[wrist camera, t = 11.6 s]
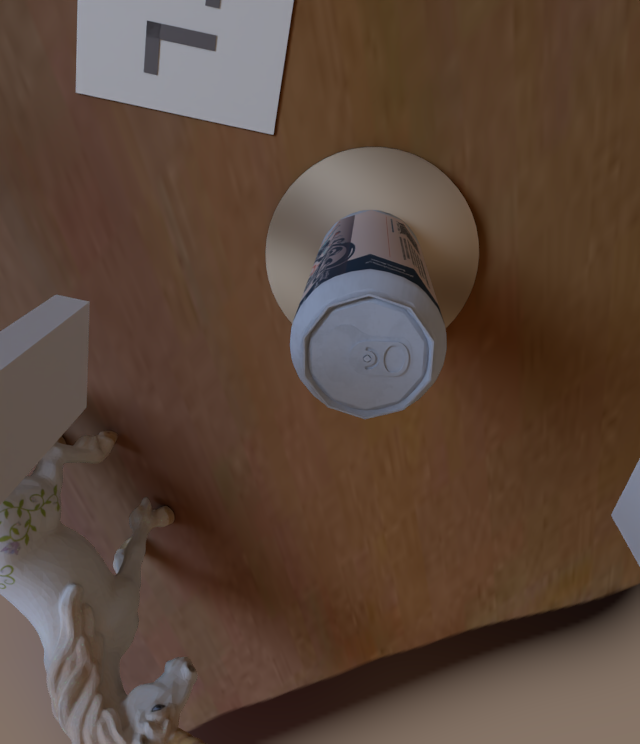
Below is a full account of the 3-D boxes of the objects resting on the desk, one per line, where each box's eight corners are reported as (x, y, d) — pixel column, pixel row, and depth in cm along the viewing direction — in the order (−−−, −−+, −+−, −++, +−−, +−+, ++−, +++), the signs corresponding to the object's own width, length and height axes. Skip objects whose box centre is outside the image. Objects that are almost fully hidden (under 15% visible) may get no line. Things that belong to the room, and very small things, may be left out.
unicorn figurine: (223, 616, 40) (157, 845, 27) (-36, 434, 35) (-250, 610, 23) (295, 555, 37) (257, 778, 25) (25, 351, 33) (-180, 500, 21)
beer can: (319, 206, 28) (283, 277, 17) (424, 208, 27) (457, 280, 16) (319, 307, 30) (287, 428, 19) (417, 309, 29) (443, 434, 18)
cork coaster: (286, 125, 27) (284, 125, 26) (505, 172, 27) (508, 173, 27) (253, 331, 31) (251, 335, 31) (443, 371, 31) (445, 376, 31)
